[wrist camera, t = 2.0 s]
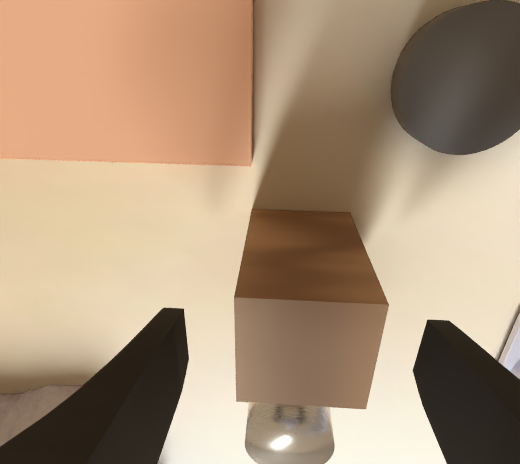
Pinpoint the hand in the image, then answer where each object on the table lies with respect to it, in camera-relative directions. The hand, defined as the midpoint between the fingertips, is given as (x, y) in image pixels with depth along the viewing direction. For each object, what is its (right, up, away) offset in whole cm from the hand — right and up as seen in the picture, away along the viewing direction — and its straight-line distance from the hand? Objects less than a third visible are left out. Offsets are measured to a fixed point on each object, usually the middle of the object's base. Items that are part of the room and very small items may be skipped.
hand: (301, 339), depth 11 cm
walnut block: (0, +2, +5) cm, 5 cm away
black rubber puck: (+6, +8, +2) cm, 10 cm away
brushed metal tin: (0, -5, +8) cm, 10 cm away
